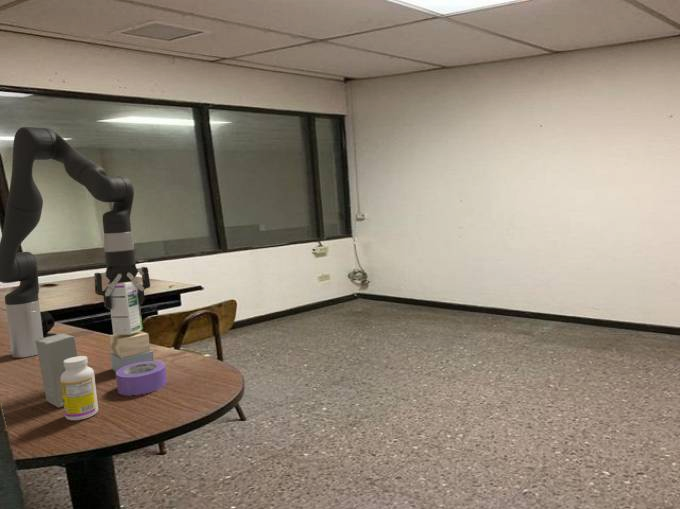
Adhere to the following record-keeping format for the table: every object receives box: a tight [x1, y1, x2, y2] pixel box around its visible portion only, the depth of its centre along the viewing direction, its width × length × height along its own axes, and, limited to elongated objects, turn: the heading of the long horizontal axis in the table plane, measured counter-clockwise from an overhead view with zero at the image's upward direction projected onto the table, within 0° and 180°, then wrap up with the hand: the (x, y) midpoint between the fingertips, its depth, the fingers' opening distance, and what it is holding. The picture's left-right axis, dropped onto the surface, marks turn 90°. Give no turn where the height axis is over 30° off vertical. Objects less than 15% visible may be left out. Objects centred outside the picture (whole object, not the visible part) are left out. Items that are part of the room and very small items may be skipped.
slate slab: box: [109, 349, 155, 373], centre depth 146 cm, size 9×9×5 cm
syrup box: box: [107, 281, 144, 335], centre depth 144 cm, size 6×6×14 cm
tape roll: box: [115, 360, 168, 397], centre depth 130 cm, size 12×12×5 cm
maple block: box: [109, 330, 151, 358], centre depth 145 cm, size 8×8×5 cm
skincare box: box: [36, 332, 79, 408], centre depth 123 cm, size 8×7×16 cm
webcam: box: [40, 311, 58, 338], centre depth 186 cm, size 8×8×10 cm
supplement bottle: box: [60, 355, 99, 421], centre depth 113 cm, size 7×7×13 cm
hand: (125, 306), depth 144 cm, fingers closed on syrup box, 8 cm apart
